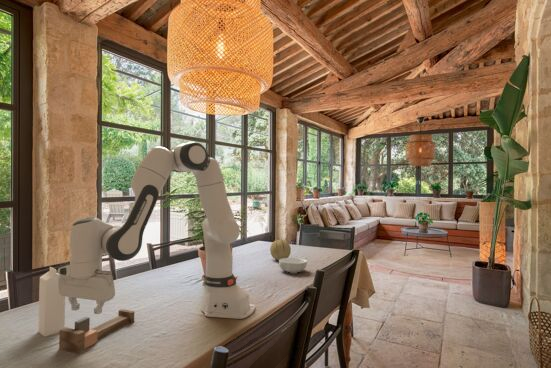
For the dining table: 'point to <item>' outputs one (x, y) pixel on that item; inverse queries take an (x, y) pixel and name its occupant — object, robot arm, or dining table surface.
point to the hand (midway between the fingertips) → (86, 311)
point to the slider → (86, 331)
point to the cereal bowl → (292, 264)
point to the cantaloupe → (280, 249)
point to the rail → (76, 338)
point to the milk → (50, 304)
